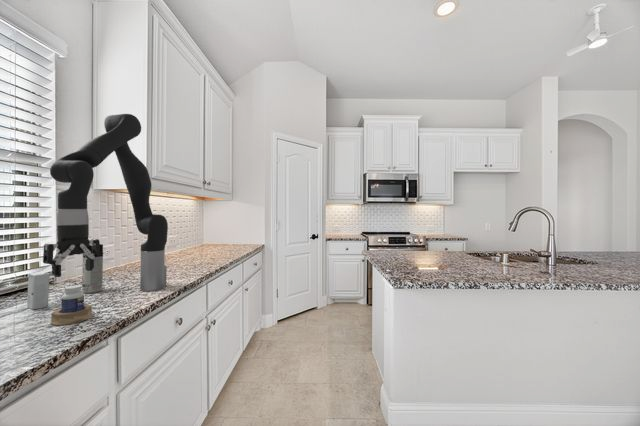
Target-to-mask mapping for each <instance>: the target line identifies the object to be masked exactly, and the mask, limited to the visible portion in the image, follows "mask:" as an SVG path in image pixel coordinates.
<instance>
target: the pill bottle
mask: <svg viewBox="0 0 640 426" xmlns="http://www.w3.org/2000/svg"><path fill="white" fill-rule="evenodd" d="M84 301H85V293H83V292H82V285H79V284H77V285H69V286H65V287H64V294H62V296H61V313H72V312H76V311H80V310H83V309H84V304H85V302H84Z"/></svg>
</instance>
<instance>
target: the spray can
mask: <svg viewBox="0 0 640 426" xmlns="http://www.w3.org/2000/svg"><path fill="white" fill-rule="evenodd" d="M87 249H88V250H89V251H90V252H91V253H92V247H91V245H90V244H89V245H88V247H87ZM100 253H101V255H100V256H99V257H96V258H94V268H93V269H92V271H87V270H86V259H87V258H86V257H85V256H84V255H82V278H81V279H82V282H81V283H82V285H81V292H83V293H84V295H85V294H95V293H100V292H102V290H103V277H104V276H103V272H104V271H103V268H104V264H103V263H104V244H101V243H100Z"/></svg>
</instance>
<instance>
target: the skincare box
mask: <svg viewBox="0 0 640 426" xmlns="http://www.w3.org/2000/svg"><path fill="white" fill-rule="evenodd" d="M50 274H51V273H48V272H47V271H44V270H42V271H35V272H29V273H28V276H27V277H28V279H27V299H26V307H28V309H30V310H38V309H43V308H46V307H49V294H50V277H51V276H50Z"/></svg>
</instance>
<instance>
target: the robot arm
mask: <svg viewBox="0 0 640 426" xmlns="http://www.w3.org/2000/svg"><path fill="white" fill-rule="evenodd" d="M103 123H104V124H103V125H104V130H105V133H104V134H103V133H102V134H100V135H98V136H97V137H94V138H92V139H91V140H88V141H87V142H86V143H85V144H83V145H82V146H81V147H80V148H79V149H77V150H76V151H74V152H73V151H72V152H70V153H68V154H66V155H64V156H62V157H60V158H58V159H57V160H55V161H54V162H53V163H52V164H51V166H50V169H49V172H50V176H51V178H52V179H53V180H54V181H56V182H59V183H64V184H69V183H70V185H69V187H68V188H67V189H65V190H60V191H59V192H58V193H57V213H56V230H57V231H56V232H57V233H56V235H57V236H56V237H57V242H56V243H45V244H44V245H43V253H42V254H43V256H42V263H43V264H45V265H46V264H47V265H51V275H52V276H54V277H55V278H61V277H62V264H61V263H62V262H63V261H64V260H65V259H66V258H67V257H68V256H74V255H82V256H83V255H84V256H85V257H86V258H87V259H86V270H87V271H92V269H93V268H94V258H96V257H99V256H100V255H101V253H100V244H101V241H100V239H98V238H92V239H90V240H89V237H90V233H89V231H90V230H89V229H90V227H89V226H90V225H89V211H88V195H89V192H90V189H91V186H92V183H93V179H94V169H93V168H97V167H98V166H99V165H100V164H102V163H103V162H104V161H105V160H106V159H107V158H108V157H109V156H110V155H111V154H112V153H114V154H115V155H116V159H117V161H118V165H119V167H120V170H121V174H122V176H123V180H124V183H125V185H126V190H127V191H128V195H129V199H130V202H131V205H132V209H133V214H134V219H135V225H136V228H137V230H138V231H139V232H140V234H142V235H147V238H146V241H145V242H143V243H141V245H140V269H139V270H140V271H139V272H140V280H139V281H140V282H139V283H140V284H139V285H140V286H139V289H140V291H142V292H155V291H159V290H162V289H164V288H165V287H167V267H168V266H166V265H165V264H166V263H165V261H166V260H165V259H166V258H165V257H166V256H165V254H166V253H165V251H166V250H165V249H166V248H165V247H166V244H167V241H168V230H169V228H168V227H169V226H168V220H167V218H166V217H165V216H164V215H163V214H153V211H152V208H151V205H150V195H151V192H152V180H151V177H150V173H149V170H148V168H147V167H146V165H145V163H143V162H142V161H141V159H139V158H138V157H137V156H136V155H135V153H133V152H132V150H131V147H130V146H129V143H128V142H130V141H131V140H133V139H134V138H136V137H138V136H139V135H140V134H141V133H142V125H141V122H140V120H139V118H137V116H135V115H133V114H130V113H120V114H111V115H107V116H106V117H105V118H104V122H103ZM89 244H90V245H91V247H92V253H91V252H90V251H89V250H88V249H87V247H88V245H89ZM56 248H57V249H58V251H57V252H56V254H55V255H54V251H56Z"/></svg>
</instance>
